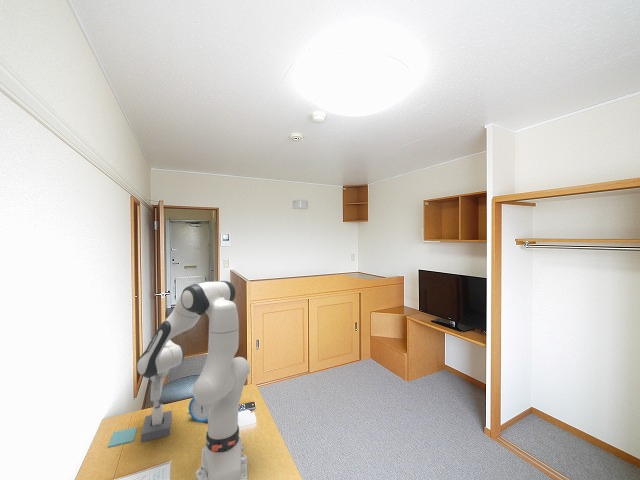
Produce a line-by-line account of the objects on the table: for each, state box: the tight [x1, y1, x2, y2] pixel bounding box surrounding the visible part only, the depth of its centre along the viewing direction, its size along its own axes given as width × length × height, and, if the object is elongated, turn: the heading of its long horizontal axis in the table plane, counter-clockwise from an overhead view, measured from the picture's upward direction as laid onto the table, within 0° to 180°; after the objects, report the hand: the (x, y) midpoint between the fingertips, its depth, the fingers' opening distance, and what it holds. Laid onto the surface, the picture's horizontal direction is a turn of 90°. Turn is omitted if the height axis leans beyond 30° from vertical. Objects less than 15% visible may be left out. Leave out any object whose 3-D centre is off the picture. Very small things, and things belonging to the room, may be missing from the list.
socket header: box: [140, 410, 173, 443], centre depth 128 cm, size 14×11×4 cm
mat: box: [107, 426, 138, 449], centre depth 123 cm, size 10×9×1 cm
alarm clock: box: [188, 396, 212, 423], centre depth 137 cm, size 13×6×15 cm, turn 83°
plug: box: [151, 402, 164, 426], centre depth 128 cm, size 4×4×12 cm
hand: (157, 400), depth 129 cm, fingers open, 8 cm apart
